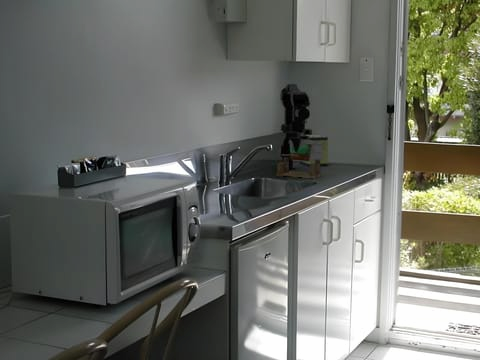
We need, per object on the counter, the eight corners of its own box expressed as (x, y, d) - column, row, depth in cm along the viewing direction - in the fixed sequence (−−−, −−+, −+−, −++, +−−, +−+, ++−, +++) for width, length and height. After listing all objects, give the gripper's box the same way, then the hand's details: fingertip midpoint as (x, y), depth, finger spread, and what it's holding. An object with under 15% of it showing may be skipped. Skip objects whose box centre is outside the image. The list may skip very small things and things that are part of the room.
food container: (283, 159, 349) (284, 138, 349) (288, 159, 355) (289, 139, 355) (306, 160, 344) (308, 139, 343) (311, 161, 349) (313, 140, 349)
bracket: (285, 173, 360) (285, 157, 359) (321, 175, 351) (321, 159, 350) (276, 176, 351) (276, 159, 350) (312, 178, 342) (313, 161, 341)
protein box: (317, 162, 401) (317, 134, 399) (327, 166, 387) (328, 137, 384) (299, 163, 399) (299, 135, 396) (309, 167, 384) (309, 137, 381)
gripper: (291, 116, 359) (291, 148, 362) (275, 119, 343) (275, 152, 345) (312, 117, 354) (312, 149, 356) (297, 120, 338) (296, 153, 340)
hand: (298, 151), depth 350 cm, fingers closed on food container, 6 cm apart
